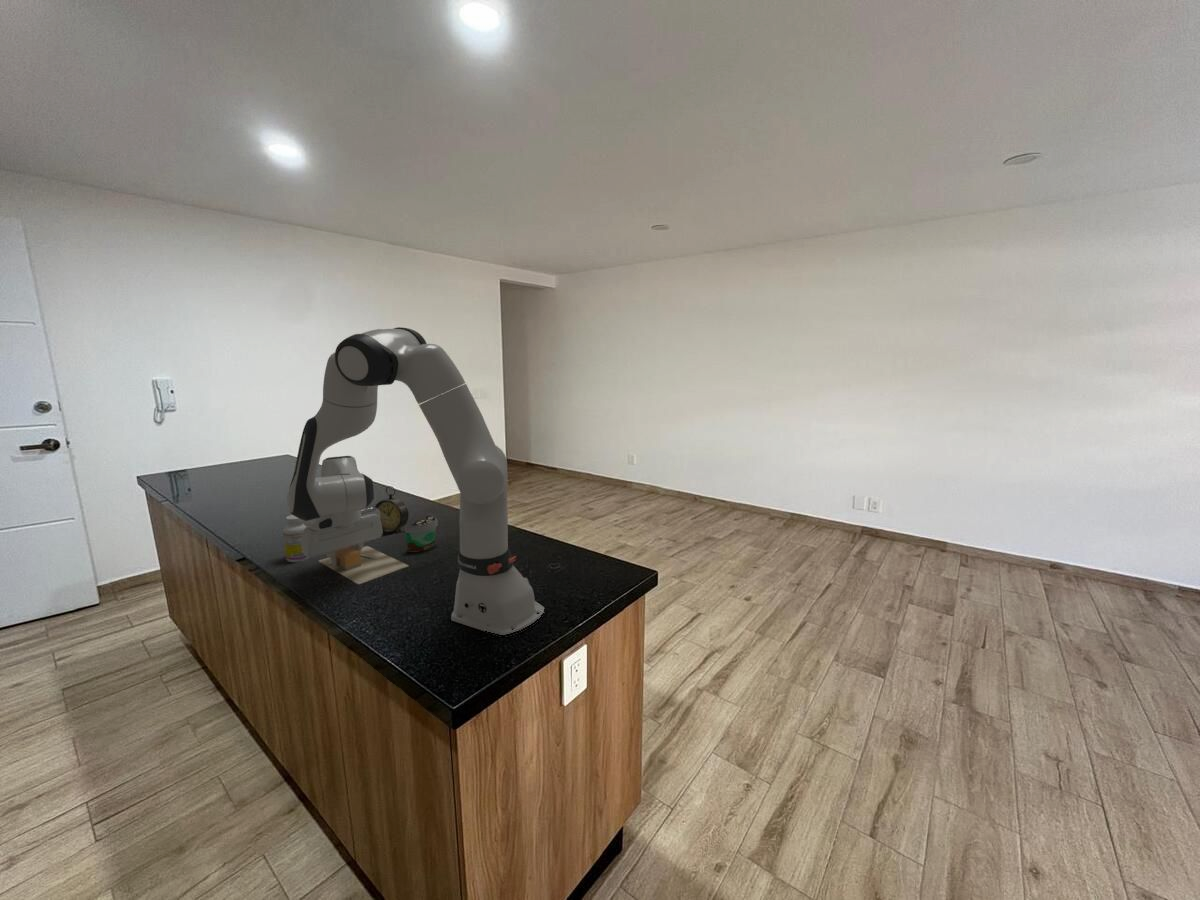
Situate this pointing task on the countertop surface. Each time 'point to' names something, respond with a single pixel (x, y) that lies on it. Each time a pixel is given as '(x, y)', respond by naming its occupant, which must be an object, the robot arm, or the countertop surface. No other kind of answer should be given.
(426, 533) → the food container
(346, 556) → the block
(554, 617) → the countertop surface
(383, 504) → the alarm clock
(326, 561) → the birch board
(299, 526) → the supplement bottle
